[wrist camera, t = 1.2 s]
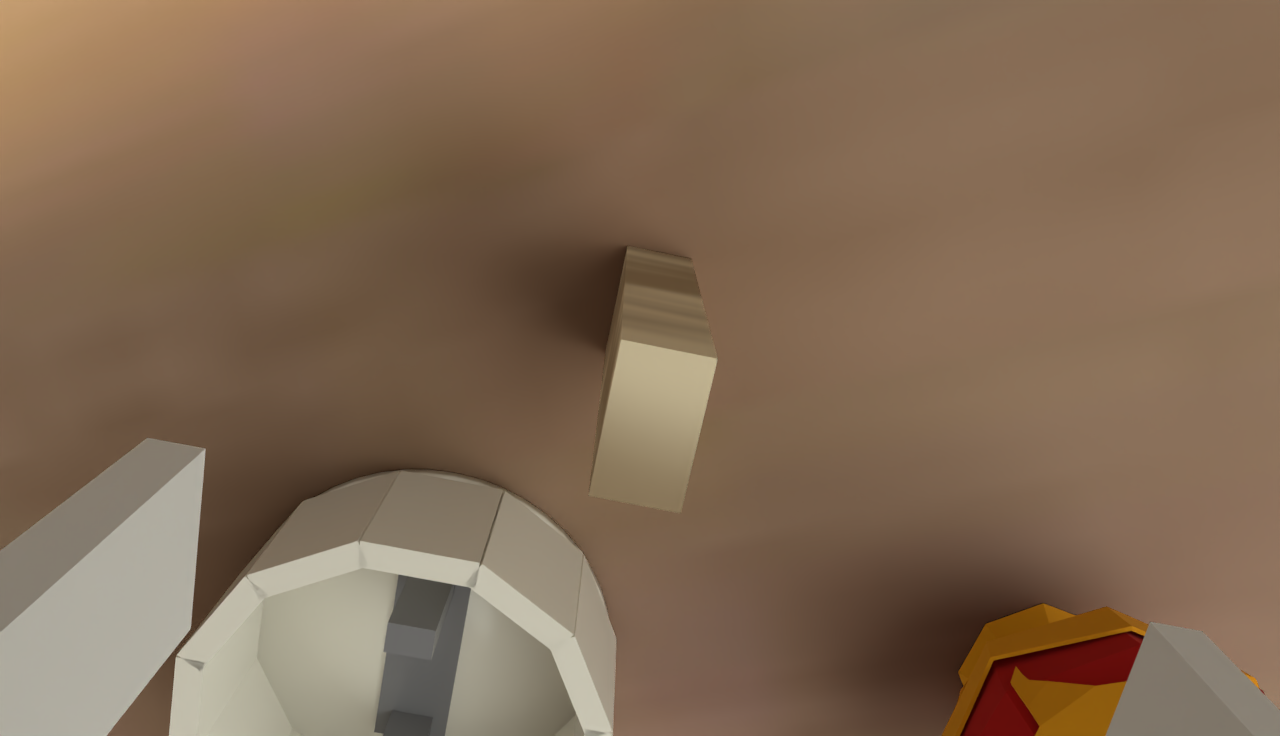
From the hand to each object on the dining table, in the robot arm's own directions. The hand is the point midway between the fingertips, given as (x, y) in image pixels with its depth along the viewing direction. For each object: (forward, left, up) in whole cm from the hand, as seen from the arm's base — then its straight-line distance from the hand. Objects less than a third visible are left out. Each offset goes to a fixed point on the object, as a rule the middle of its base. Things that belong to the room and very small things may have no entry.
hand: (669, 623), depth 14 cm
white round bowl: (+13, -5, -18) cm, 23 cm away
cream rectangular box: (0, 0, -18) cm, 19 cm away
